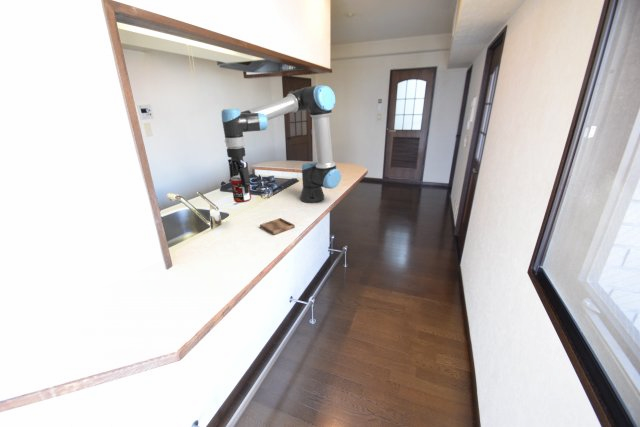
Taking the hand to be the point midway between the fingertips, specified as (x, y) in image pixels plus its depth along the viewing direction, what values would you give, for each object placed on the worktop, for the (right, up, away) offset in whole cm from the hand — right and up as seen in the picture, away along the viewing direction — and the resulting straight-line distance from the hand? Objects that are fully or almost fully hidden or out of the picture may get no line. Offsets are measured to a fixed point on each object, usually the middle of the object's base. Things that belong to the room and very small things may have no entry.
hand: (242, 197), depth 126 cm
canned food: (0, -1, +1) cm, 1 cm away
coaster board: (+15, -14, +7) cm, 22 cm away
